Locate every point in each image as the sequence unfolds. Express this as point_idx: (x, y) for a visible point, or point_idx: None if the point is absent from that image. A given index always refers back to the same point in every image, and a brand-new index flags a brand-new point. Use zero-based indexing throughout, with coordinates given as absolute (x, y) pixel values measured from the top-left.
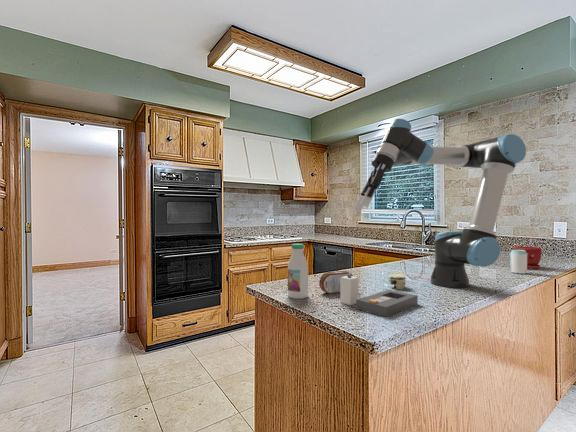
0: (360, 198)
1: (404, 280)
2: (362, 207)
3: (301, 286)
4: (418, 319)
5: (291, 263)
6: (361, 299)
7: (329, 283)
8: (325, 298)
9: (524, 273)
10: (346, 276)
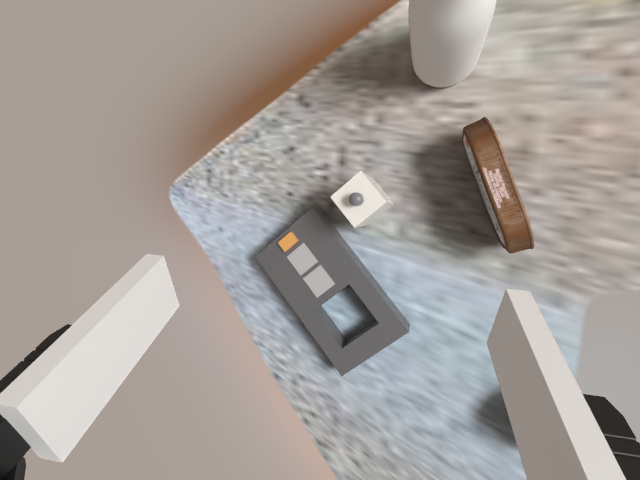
0: (564, 451)
1: None
2: (503, 395)
3: (411, 52)
4: (250, 310)
5: None
6: (313, 220)
7: (471, 154)
8: (417, 142)
9: None
10: (370, 193)
